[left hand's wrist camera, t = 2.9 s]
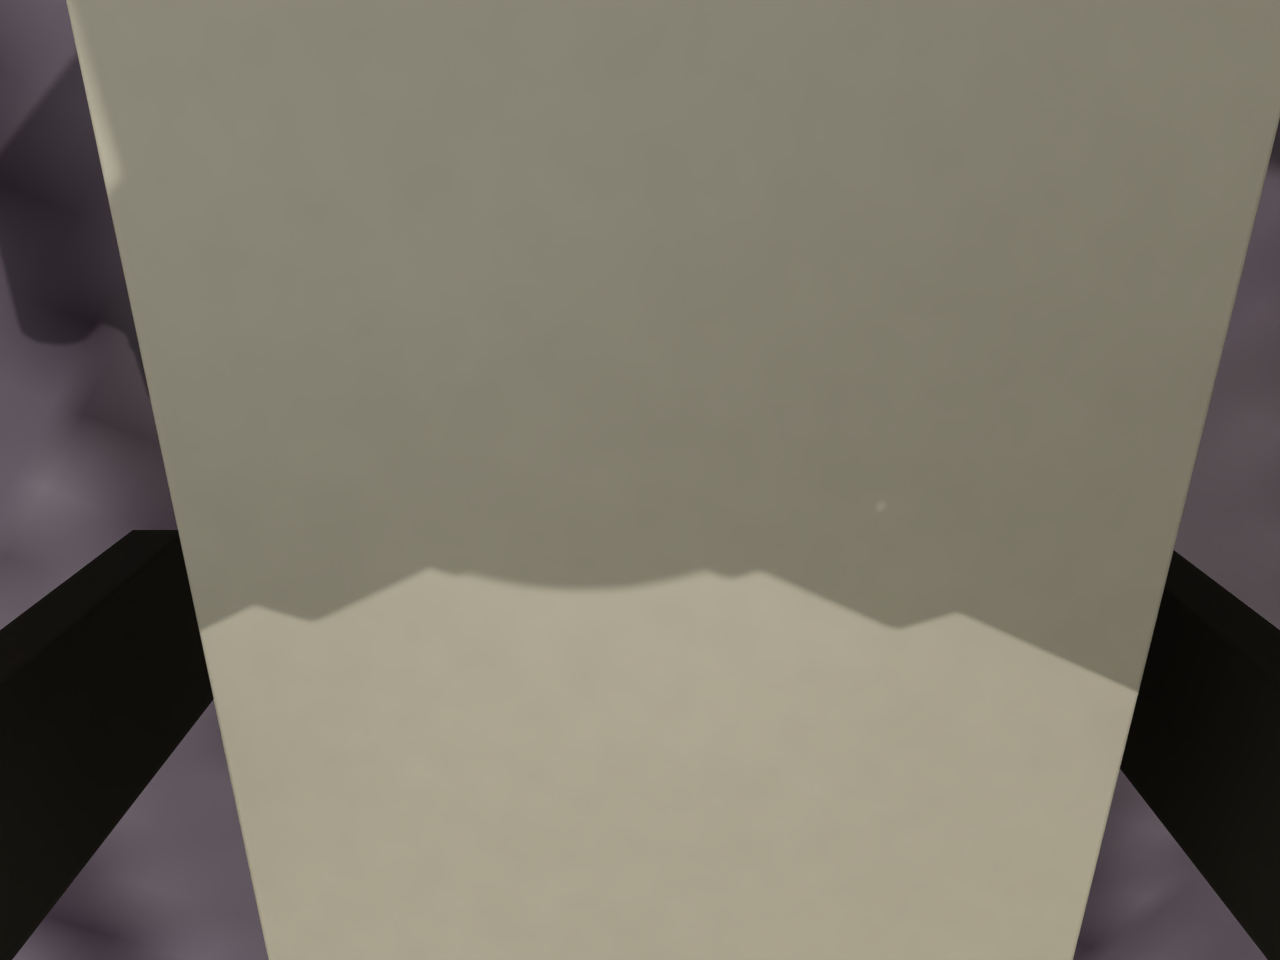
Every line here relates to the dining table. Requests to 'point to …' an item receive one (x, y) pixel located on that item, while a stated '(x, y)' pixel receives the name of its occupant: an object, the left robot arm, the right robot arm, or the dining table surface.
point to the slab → (678, 446)
